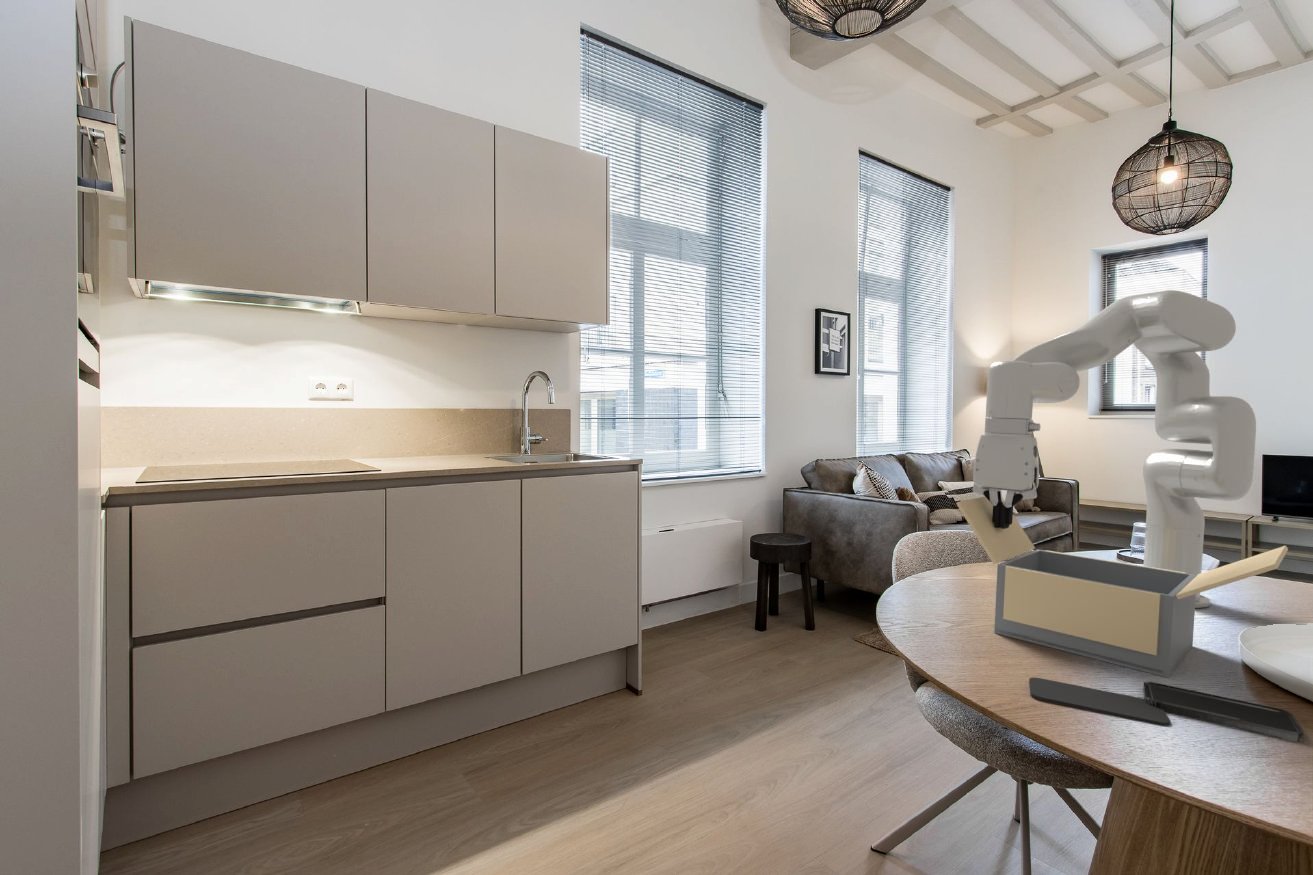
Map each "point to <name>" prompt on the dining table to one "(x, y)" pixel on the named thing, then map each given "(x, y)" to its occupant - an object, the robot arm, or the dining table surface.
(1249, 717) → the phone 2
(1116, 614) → the carton
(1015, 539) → the carton flap
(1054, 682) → the phone
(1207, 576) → the carton flap
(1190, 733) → the dining table surface
